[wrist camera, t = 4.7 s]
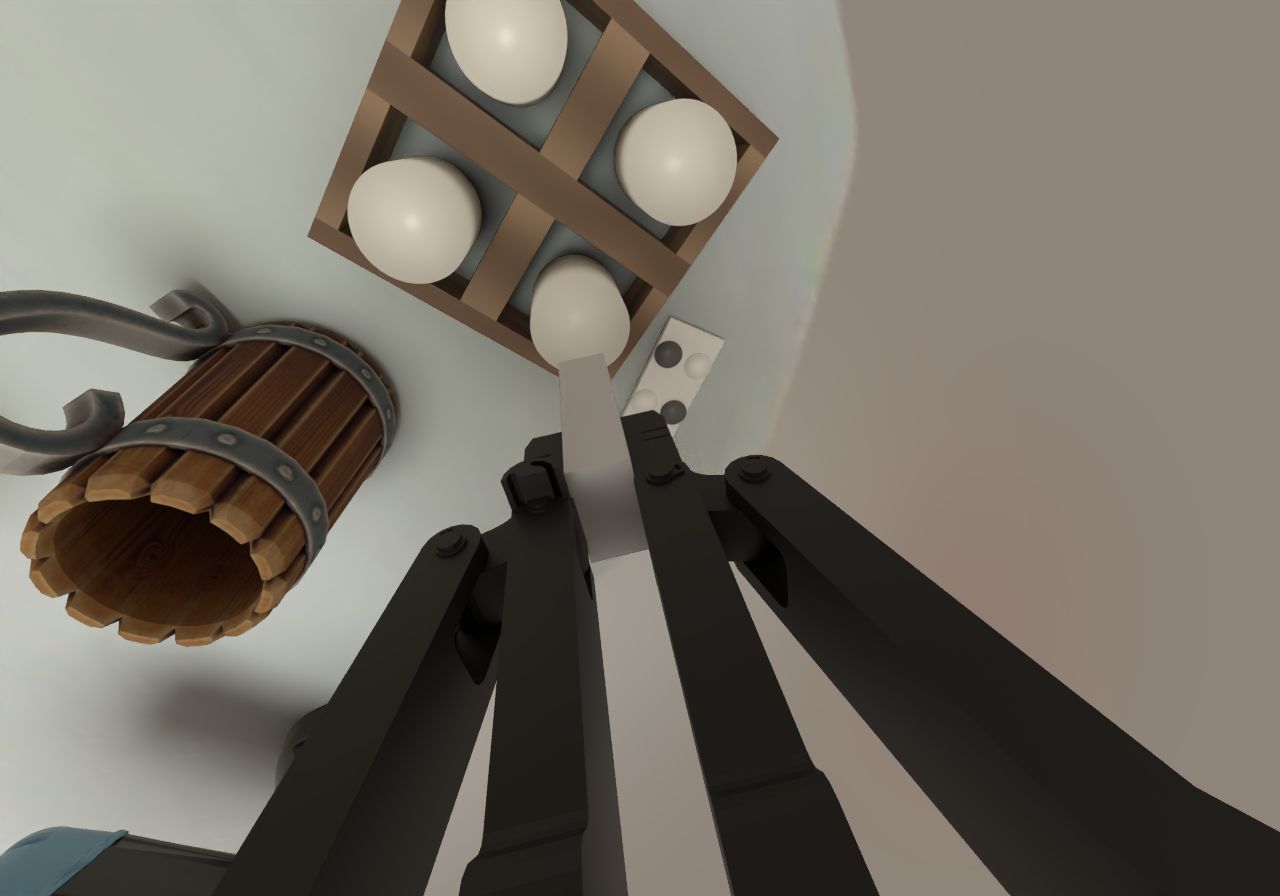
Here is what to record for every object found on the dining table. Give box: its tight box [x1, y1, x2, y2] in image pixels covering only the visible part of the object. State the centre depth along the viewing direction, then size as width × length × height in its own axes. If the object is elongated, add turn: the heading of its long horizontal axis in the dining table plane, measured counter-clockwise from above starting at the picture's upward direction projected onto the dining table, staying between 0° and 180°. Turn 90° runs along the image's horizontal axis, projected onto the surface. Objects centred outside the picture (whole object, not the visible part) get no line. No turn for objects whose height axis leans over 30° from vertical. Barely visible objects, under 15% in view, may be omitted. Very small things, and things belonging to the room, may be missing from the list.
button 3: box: [445, 0, 567, 107], centre depth 23 cm, size 5×5×5 cm
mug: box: [0, 290, 397, 647], centre depth 25 cm, size 16×11×15 cm
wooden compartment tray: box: [307, 0, 779, 380], centre depth 27 cm, size 16×16×4 cm
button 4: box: [614, 99, 737, 226], centre depth 24 cm, size 5×5×5 cm
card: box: [621, 316, 725, 438], centre depth 35 cm, size 8×4×1 cm, turn 155°
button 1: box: [348, 156, 482, 284], centre depth 23 cm, size 5×5×5 cm
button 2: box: [530, 255, 630, 369], centre depth 27 cm, size 5×5×5 cm
